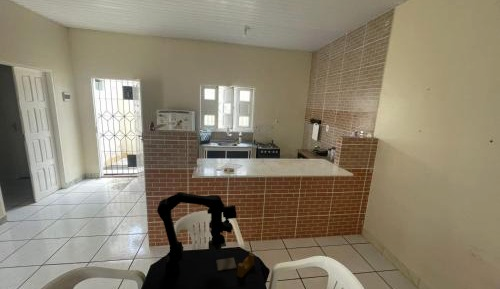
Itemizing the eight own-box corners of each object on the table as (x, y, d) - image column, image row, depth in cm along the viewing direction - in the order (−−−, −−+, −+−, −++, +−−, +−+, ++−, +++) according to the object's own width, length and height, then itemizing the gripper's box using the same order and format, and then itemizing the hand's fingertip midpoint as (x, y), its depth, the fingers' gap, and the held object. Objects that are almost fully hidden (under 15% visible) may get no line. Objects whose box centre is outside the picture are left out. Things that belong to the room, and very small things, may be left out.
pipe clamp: (247, 261, 122) (248, 251, 121) (254, 264, 120) (254, 254, 119) (234, 274, 112) (235, 263, 111) (241, 278, 110) (241, 266, 109)
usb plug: (208, 252, 113) (208, 245, 112) (208, 247, 116) (208, 240, 116) (226, 249, 115) (226, 242, 114) (225, 244, 119) (225, 238, 118)
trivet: (217, 271, 114) (218, 270, 114) (216, 260, 121) (216, 260, 121) (236, 268, 116) (236, 267, 116) (233, 258, 124) (233, 257, 124)
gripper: (235, 227, 106) (234, 255, 109) (228, 210, 124) (228, 234, 127) (212, 230, 103) (212, 259, 106) (209, 212, 121) (209, 237, 124)
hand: (216, 246), depth 116 cm, fingers closed on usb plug, 4 cm apart
